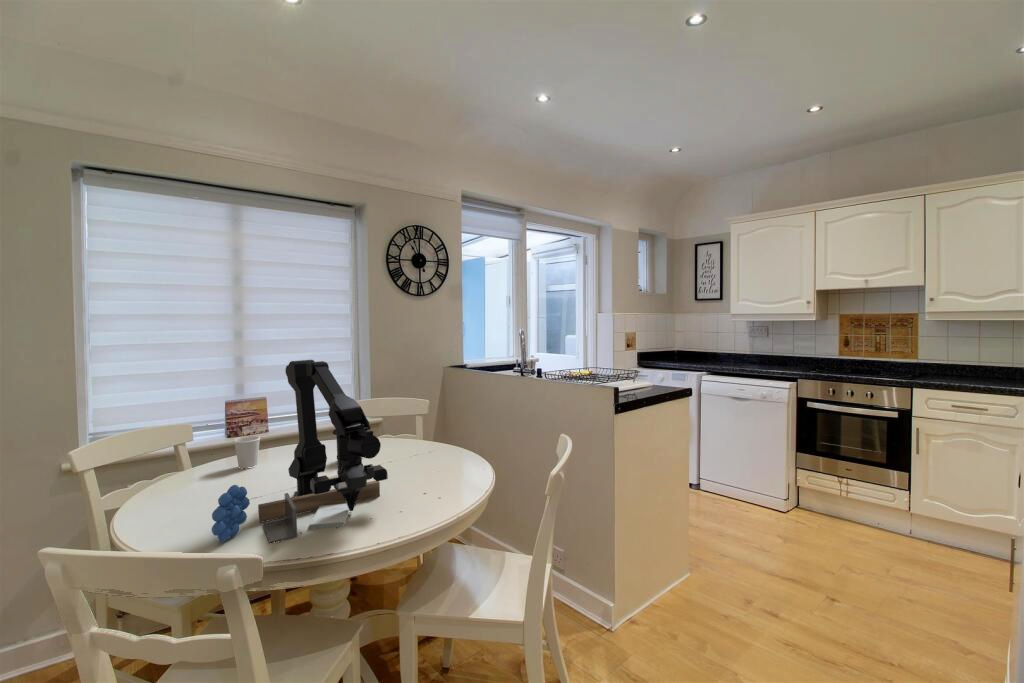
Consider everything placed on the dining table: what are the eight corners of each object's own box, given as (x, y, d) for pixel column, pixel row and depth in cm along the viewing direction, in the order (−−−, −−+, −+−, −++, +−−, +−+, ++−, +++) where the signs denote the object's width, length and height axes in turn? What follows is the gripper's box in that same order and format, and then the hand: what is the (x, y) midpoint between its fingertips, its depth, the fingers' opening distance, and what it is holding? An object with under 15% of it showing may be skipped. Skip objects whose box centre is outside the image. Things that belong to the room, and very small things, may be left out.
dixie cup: (263, 462, 172) (262, 435, 172) (259, 468, 164) (258, 440, 164) (237, 464, 169) (235, 437, 169) (232, 471, 161) (231, 442, 161)
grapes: (232, 525, 118) (230, 478, 118) (257, 526, 117) (255, 478, 117) (196, 547, 106) (194, 495, 106) (224, 548, 106) (222, 496, 105)
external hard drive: (309, 531, 115) (319, 511, 128) (344, 527, 117) (350, 508, 129) (308, 524, 115) (319, 505, 128) (344, 521, 117) (350, 502, 129)
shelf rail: (258, 519, 121) (258, 504, 121) (377, 493, 139) (377, 480, 138) (259, 522, 120) (259, 507, 119) (379, 495, 137) (379, 482, 137)
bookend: (263, 525, 118) (262, 497, 118) (288, 519, 121) (287, 492, 121) (269, 543, 108) (268, 513, 108) (297, 537, 111) (296, 507, 111)
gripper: (317, 466, 112) (320, 530, 113) (393, 452, 123) (395, 511, 123) (308, 456, 121) (311, 515, 122) (379, 444, 132) (381, 499, 132)
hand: (351, 510), depth 125 cm, fingers closed
